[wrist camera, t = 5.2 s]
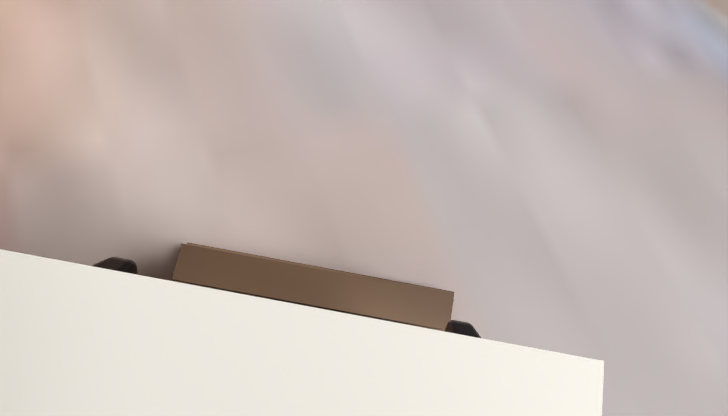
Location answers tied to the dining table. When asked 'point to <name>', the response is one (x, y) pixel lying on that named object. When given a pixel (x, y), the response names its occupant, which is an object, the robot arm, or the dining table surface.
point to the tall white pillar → (250, 355)
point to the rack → (313, 286)
